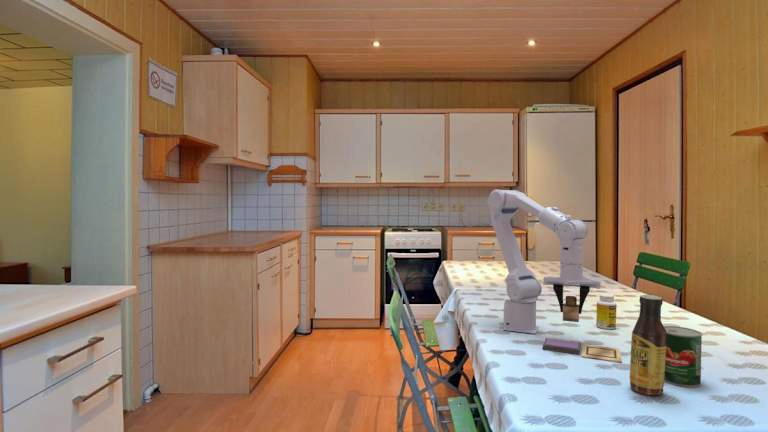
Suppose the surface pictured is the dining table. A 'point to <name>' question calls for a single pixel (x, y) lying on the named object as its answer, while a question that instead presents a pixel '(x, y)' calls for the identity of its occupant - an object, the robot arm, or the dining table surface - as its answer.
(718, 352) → the dining table surface
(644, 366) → the sauce bottle
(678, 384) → the canned tomato
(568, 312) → the stamp
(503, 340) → the dining table surface
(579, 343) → the ink pad
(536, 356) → the dining table surface
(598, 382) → the dining table surface
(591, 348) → the card sheet
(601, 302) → the supplement bottle
